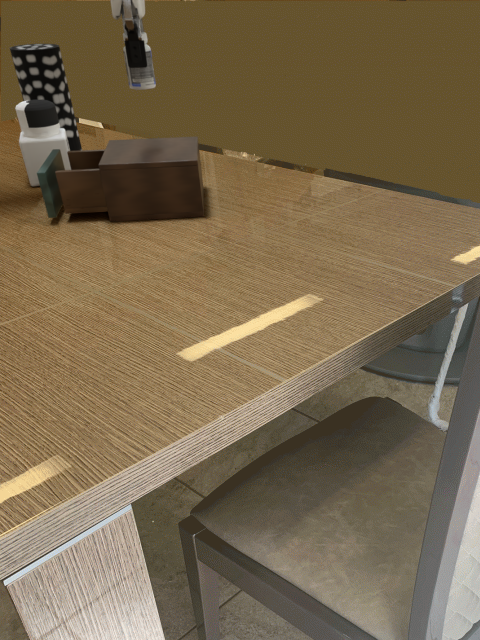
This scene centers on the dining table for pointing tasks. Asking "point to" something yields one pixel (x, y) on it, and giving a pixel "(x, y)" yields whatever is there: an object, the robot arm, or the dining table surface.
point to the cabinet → (152, 179)
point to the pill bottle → (141, 70)
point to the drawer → (72, 183)
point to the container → (40, 135)
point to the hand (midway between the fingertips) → (139, 63)
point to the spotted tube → (46, 83)
